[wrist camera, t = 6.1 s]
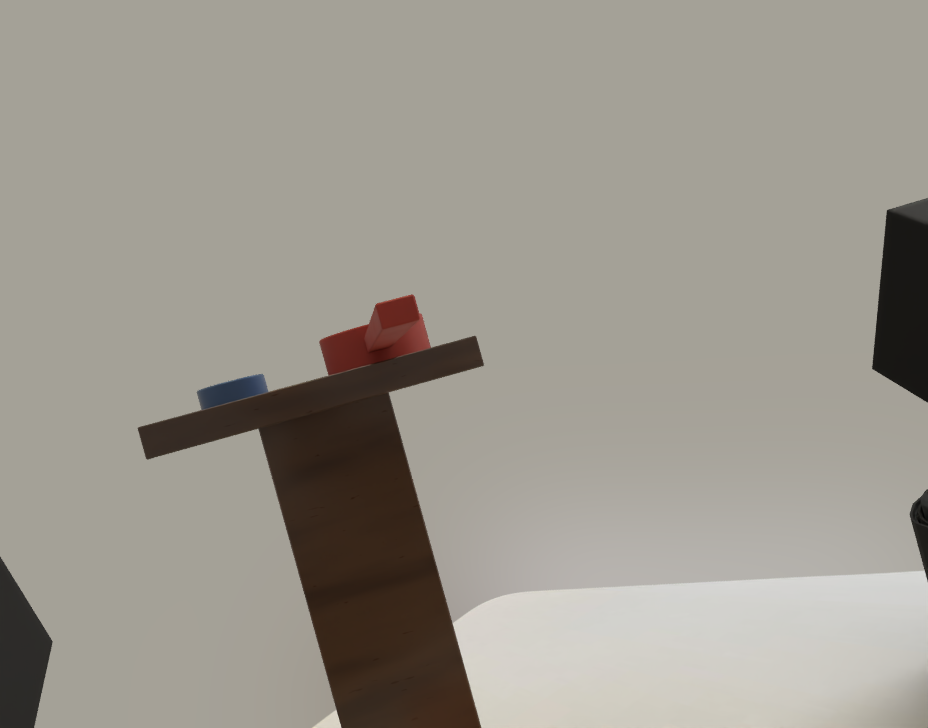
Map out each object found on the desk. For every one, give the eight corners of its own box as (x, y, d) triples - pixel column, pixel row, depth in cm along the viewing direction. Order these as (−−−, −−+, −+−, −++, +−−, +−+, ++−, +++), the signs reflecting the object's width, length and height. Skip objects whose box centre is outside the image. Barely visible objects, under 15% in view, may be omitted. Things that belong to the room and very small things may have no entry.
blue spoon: (265, 394, 42) (259, 372, 42) (196, 413, 41) (190, 391, 41) (280, 394, 51) (276, 376, 51) (225, 409, 51) (220, 391, 51)
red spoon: (330, 378, 45) (320, 343, 45) (426, 352, 46) (416, 318, 46) (314, 369, 23) (296, 303, 23) (496, 319, 24) (478, 256, 24)
